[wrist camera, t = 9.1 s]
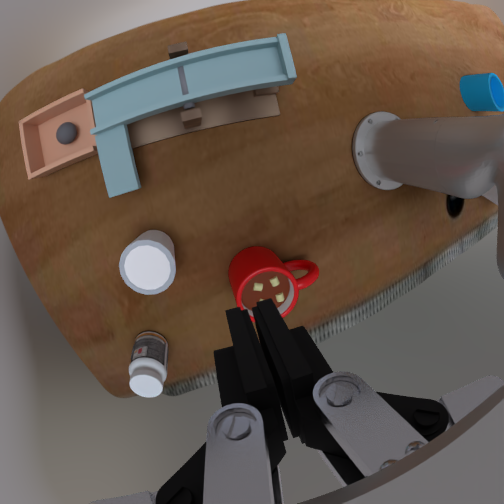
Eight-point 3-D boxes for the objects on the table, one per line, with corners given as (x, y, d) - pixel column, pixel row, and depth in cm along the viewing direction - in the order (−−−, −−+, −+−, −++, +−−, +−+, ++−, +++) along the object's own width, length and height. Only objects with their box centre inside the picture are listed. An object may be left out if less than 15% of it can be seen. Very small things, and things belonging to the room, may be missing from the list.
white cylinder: (124, 233, 36) (110, 249, 29) (170, 219, 37) (165, 232, 30) (140, 277, 38) (131, 301, 32) (184, 265, 39) (183, 287, 32)
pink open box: (96, 95, 29) (83, 88, 24) (106, 151, 32) (93, 150, 27) (36, 123, 28) (18, 121, 23) (46, 176, 31) (28, 179, 26)
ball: (74, 122, 29) (75, 116, 27) (78, 142, 30) (79, 138, 28) (55, 129, 28) (54, 123, 25) (58, 149, 29) (57, 145, 26)
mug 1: (310, 277, 44) (332, 300, 36) (237, 302, 43) (246, 332, 35) (300, 230, 41) (323, 247, 33) (221, 256, 40) (228, 279, 32)
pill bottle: (128, 337, 41) (117, 378, 32) (156, 324, 41) (150, 366, 32) (147, 361, 43) (141, 403, 34) (175, 350, 43) (174, 393, 34)
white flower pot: (487, 211, 49) (530, 226, 36) (463, 197, 46) (513, 213, 33) (495, 163, 45) (538, 173, 33) (472, 143, 42) (522, 150, 29)
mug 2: (466, 114, 40) (496, 114, 32) (455, 77, 37) (484, 74, 29) (488, 105, 40) (514, 106, 33) (478, 72, 37) (504, 70, 29)
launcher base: (264, 50, 31) (281, 26, 23) (278, 115, 35) (301, 105, 27) (97, 89, 29) (74, 74, 21) (110, 156, 32) (87, 156, 24)
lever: (281, 40, 24) (284, 29, 21) (305, 151, 29) (312, 152, 25) (91, 95, 25) (76, 91, 22) (113, 196, 30) (99, 202, 27)
